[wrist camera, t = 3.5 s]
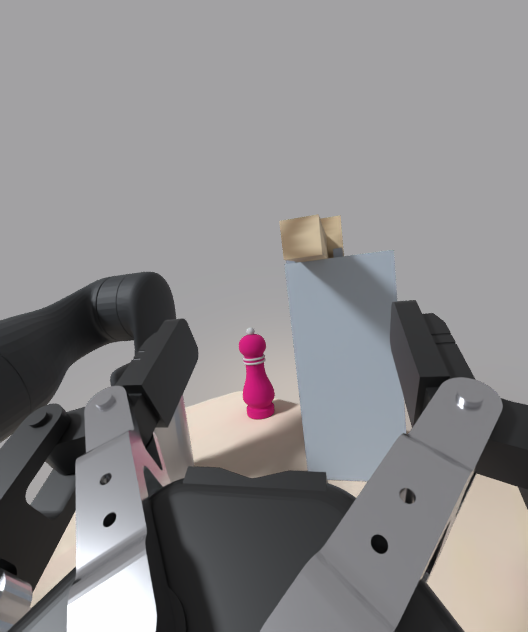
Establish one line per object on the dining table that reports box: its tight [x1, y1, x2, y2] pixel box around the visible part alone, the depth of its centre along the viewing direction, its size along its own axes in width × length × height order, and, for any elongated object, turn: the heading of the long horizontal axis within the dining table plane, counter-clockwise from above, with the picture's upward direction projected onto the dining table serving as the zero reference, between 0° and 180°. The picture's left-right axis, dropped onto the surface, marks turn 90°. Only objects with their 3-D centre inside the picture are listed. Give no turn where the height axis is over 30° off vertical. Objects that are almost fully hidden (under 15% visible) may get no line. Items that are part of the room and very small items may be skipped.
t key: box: [280, 215, 344, 262], centre depth 40 cm, size 8×24×6 cm, turn 166°
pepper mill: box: [239, 328, 275, 419], centre depth 69 cm, size 7×7×20 cm
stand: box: [285, 248, 406, 481], centre depth 48 cm, size 14×11×33 cm
